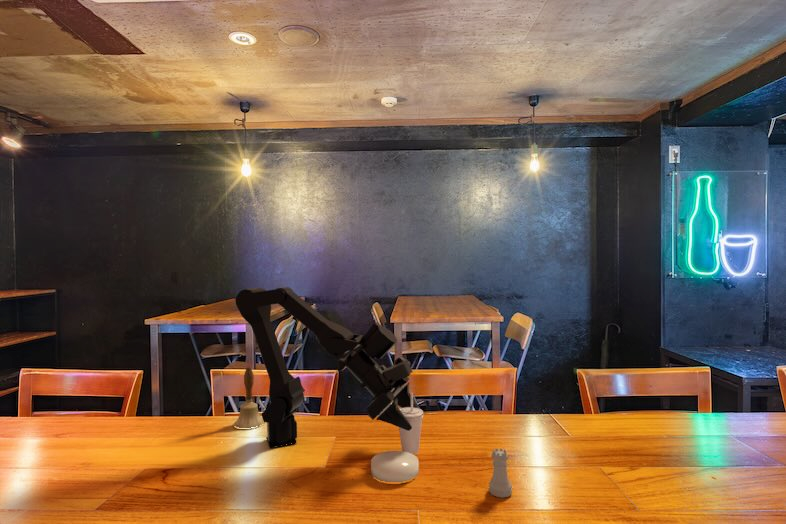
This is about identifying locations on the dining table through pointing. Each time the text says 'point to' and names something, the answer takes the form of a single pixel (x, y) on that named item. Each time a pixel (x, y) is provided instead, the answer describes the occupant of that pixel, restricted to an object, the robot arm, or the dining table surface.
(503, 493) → the rook chess piece
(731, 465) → the dining table surface
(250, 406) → the hand bell
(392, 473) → the stand
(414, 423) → the smoothie
